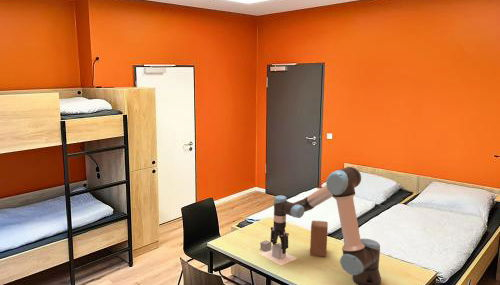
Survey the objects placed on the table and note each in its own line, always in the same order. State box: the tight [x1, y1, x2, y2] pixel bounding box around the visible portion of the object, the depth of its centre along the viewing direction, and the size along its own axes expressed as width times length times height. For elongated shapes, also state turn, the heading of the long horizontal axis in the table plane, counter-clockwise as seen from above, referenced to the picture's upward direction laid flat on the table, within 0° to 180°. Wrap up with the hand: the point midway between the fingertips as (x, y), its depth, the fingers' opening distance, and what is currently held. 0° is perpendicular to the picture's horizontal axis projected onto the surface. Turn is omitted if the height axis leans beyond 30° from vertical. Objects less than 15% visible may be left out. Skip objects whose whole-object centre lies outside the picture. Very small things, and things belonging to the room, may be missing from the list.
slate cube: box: [271, 242, 287, 260], centre depth 238 cm, size 6×6×7 cm
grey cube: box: [259, 240, 272, 252], centre depth 247 cm, size 5×5×5 cm
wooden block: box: [309, 220, 329, 258], centre depth 242 cm, size 10×10×20 cm
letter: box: [258, 250, 298, 266], centre depth 239 cm, size 20×14×1 cm
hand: (278, 255), depth 238 cm, fingers closed on slate cube, 6 cm apart
